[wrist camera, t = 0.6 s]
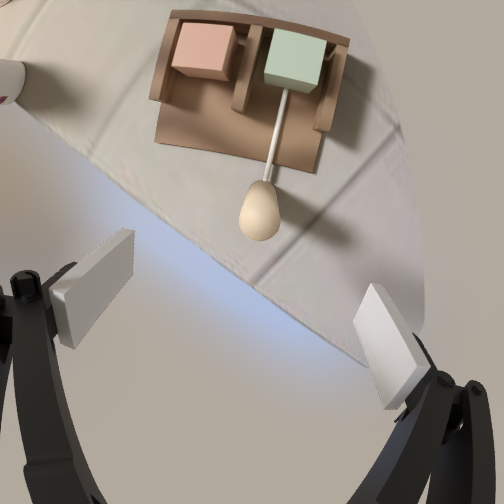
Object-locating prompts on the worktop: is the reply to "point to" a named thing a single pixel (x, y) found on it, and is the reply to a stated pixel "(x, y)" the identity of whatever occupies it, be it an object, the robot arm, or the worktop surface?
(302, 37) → the green headed mallet
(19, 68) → the milk bottle
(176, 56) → the terracotta block
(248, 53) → the lane shelf
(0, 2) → the kettle
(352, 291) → the worktop surface
